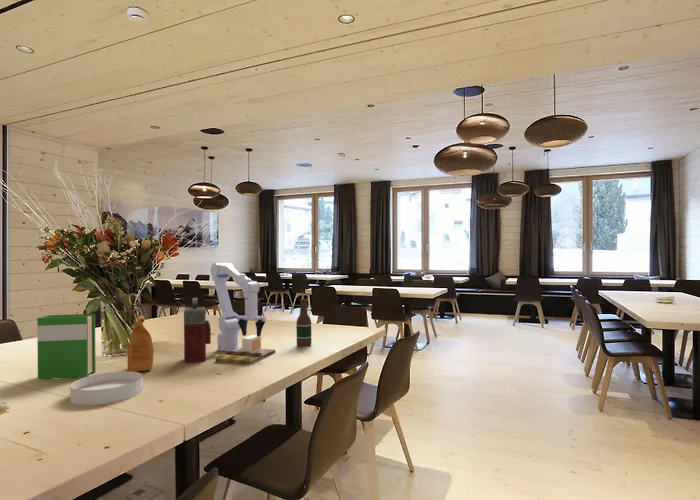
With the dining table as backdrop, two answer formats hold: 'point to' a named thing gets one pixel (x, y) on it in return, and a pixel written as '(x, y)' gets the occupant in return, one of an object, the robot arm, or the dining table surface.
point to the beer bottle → (303, 326)
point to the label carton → (251, 343)
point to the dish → (106, 388)
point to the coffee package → (140, 348)
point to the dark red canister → (195, 333)
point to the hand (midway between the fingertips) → (251, 335)
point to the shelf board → (244, 356)
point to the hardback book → (66, 346)
